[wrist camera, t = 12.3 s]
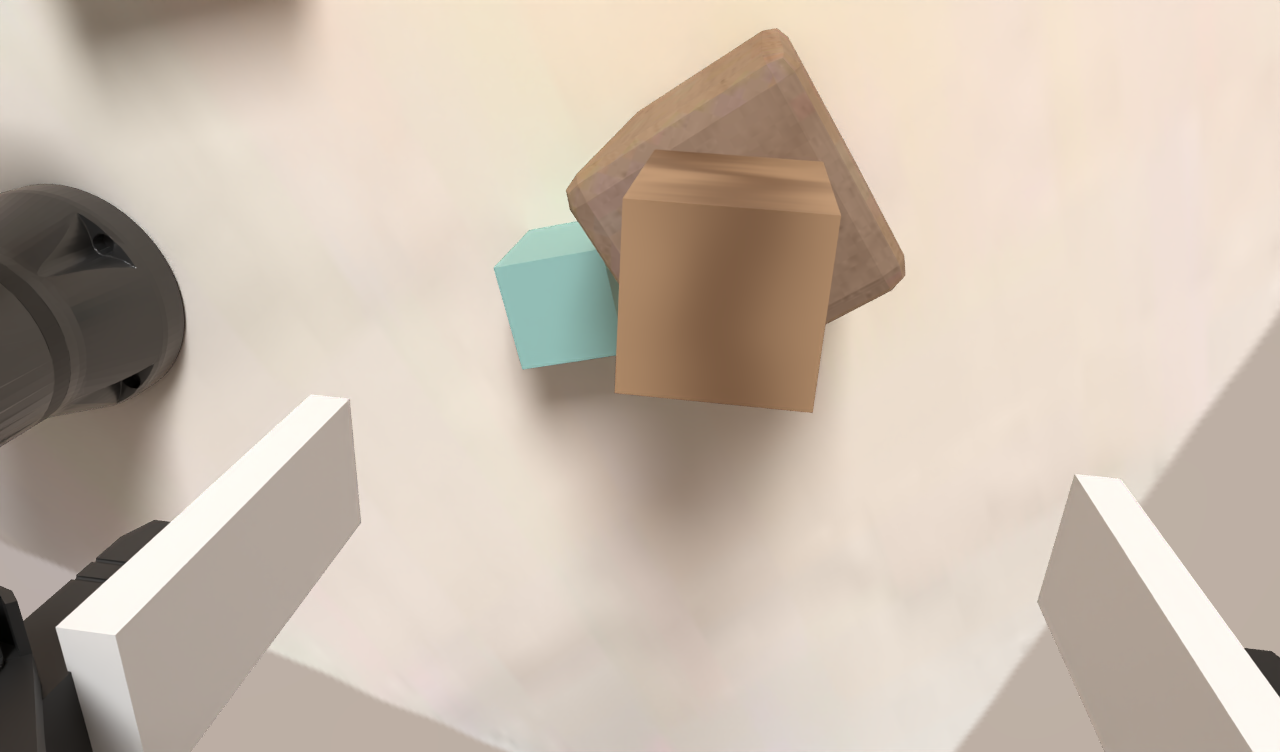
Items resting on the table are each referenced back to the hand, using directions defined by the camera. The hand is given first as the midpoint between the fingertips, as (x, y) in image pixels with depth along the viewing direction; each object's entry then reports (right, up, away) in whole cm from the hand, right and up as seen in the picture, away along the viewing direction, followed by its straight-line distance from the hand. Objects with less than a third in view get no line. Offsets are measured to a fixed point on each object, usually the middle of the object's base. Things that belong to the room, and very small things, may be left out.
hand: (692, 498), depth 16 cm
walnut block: (+2, +7, +17) cm, 18 cm away
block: (+5, +15, +35) cm, 39 cm away
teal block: (-4, +9, +39) cm, 40 cm away
